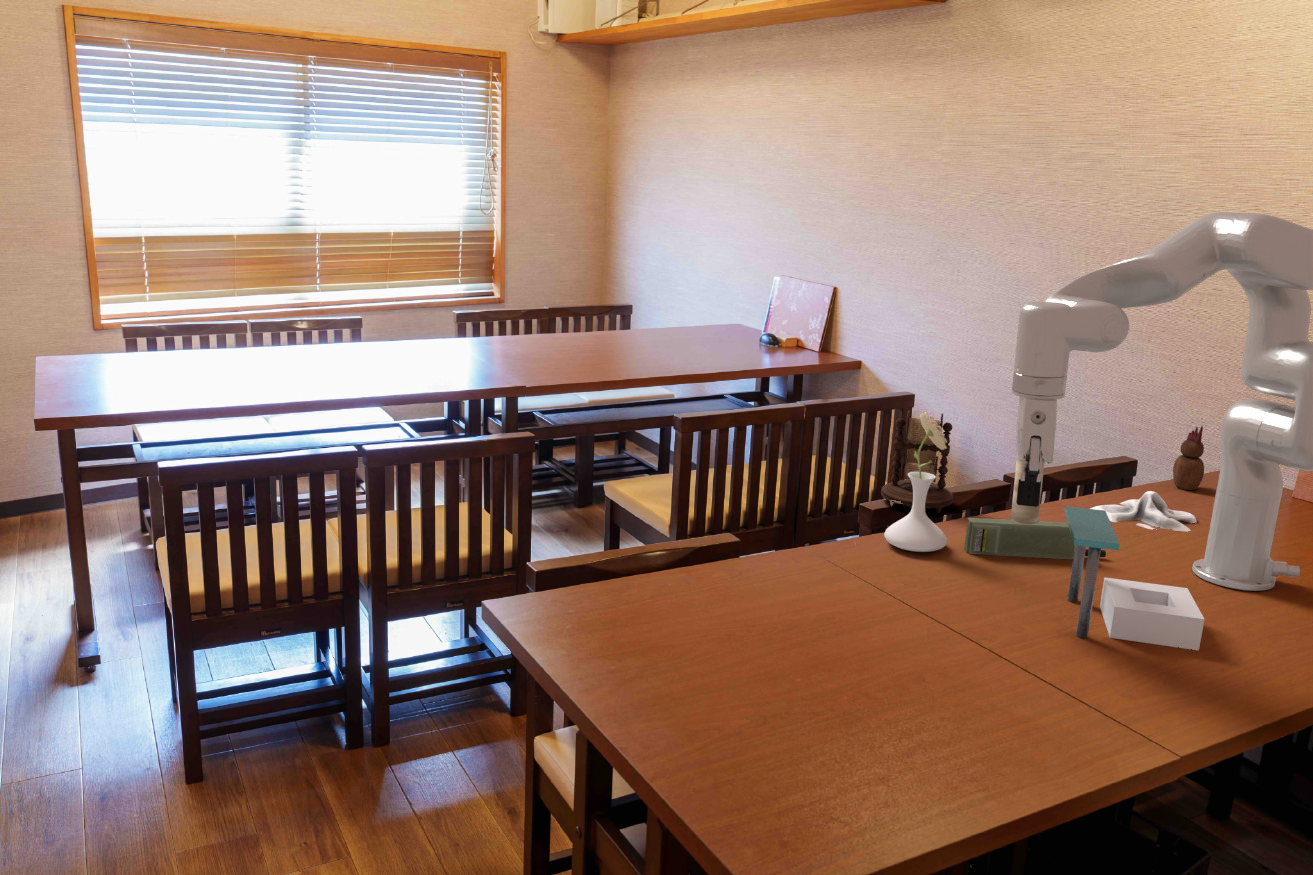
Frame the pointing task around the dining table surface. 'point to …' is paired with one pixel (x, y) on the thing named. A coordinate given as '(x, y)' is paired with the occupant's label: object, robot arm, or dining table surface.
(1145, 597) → the socket block
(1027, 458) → the peg
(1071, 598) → the small teal stool
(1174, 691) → the dining table surface
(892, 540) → the flower in vase
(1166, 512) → the cloth
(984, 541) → the handheld radio
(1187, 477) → the wooden figurine
